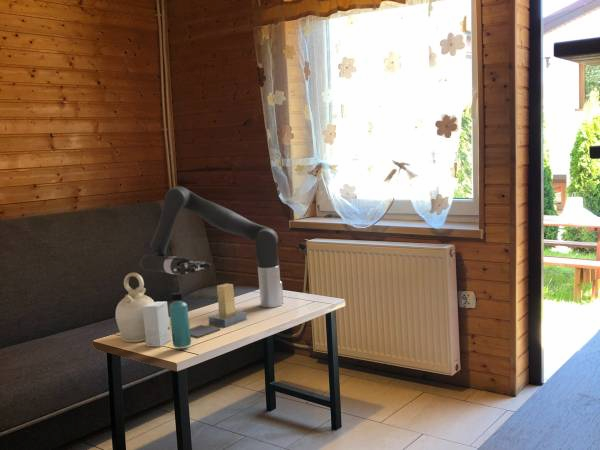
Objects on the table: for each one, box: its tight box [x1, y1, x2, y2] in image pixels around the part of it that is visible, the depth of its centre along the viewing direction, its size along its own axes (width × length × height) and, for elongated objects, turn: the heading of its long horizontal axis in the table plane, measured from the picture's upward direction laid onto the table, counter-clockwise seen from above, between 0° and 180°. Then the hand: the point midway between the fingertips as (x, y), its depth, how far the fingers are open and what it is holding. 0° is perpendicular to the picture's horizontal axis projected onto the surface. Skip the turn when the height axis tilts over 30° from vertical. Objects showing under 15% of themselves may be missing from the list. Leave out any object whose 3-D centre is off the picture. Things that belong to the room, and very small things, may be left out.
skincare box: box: [142, 301, 172, 348], centre depth 233 cm, size 8×6×15 cm
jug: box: [115, 272, 155, 344], centre depth 242 cm, size 15×16×25 cm
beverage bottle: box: [168, 291, 192, 348], centre depth 225 cm, size 6×7×20 cm
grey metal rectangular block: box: [208, 310, 248, 328], centre depth 256 cm, size 12×9×3 cm
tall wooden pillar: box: [216, 283, 236, 317], centre depth 256 cm, size 5×4×12 cm
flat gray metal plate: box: [190, 324, 221, 339], centre depth 245 cm, size 11×11×1 cm
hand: (202, 268), depth 262 cm, fingers open, 8 cm apart
